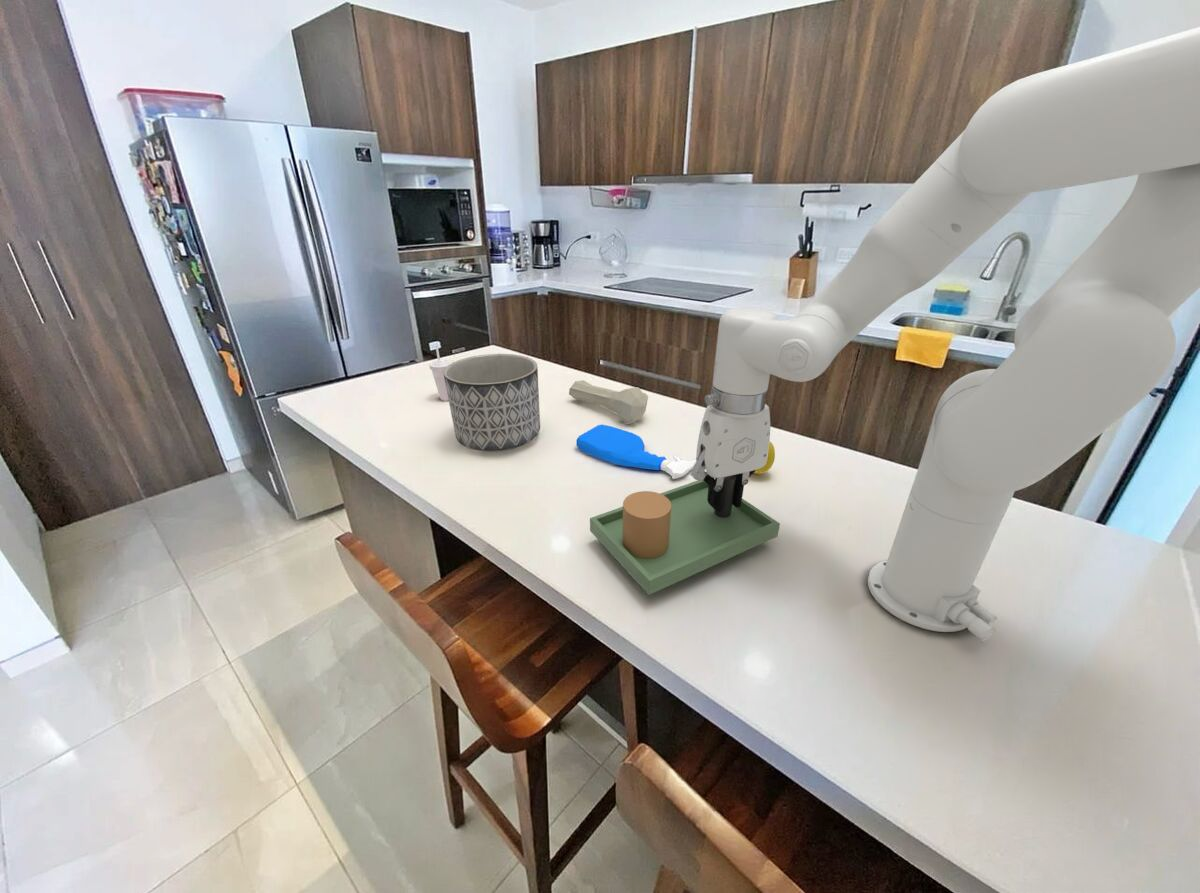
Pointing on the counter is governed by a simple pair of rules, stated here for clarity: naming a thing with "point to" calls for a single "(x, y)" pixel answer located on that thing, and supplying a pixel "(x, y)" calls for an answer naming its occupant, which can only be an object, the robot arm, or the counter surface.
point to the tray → (689, 535)
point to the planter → (494, 401)
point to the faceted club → (613, 399)
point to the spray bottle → (627, 451)
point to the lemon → (768, 460)
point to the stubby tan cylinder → (646, 524)
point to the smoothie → (440, 375)
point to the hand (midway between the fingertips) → (723, 504)
